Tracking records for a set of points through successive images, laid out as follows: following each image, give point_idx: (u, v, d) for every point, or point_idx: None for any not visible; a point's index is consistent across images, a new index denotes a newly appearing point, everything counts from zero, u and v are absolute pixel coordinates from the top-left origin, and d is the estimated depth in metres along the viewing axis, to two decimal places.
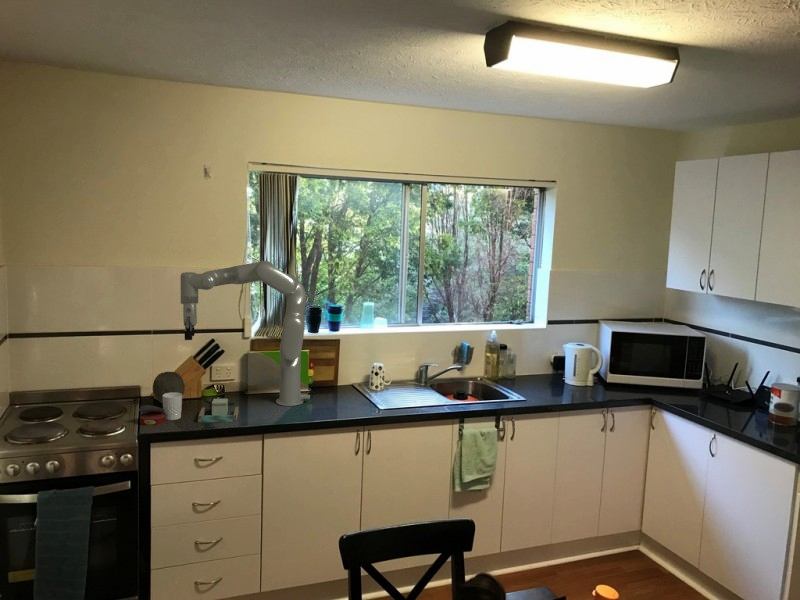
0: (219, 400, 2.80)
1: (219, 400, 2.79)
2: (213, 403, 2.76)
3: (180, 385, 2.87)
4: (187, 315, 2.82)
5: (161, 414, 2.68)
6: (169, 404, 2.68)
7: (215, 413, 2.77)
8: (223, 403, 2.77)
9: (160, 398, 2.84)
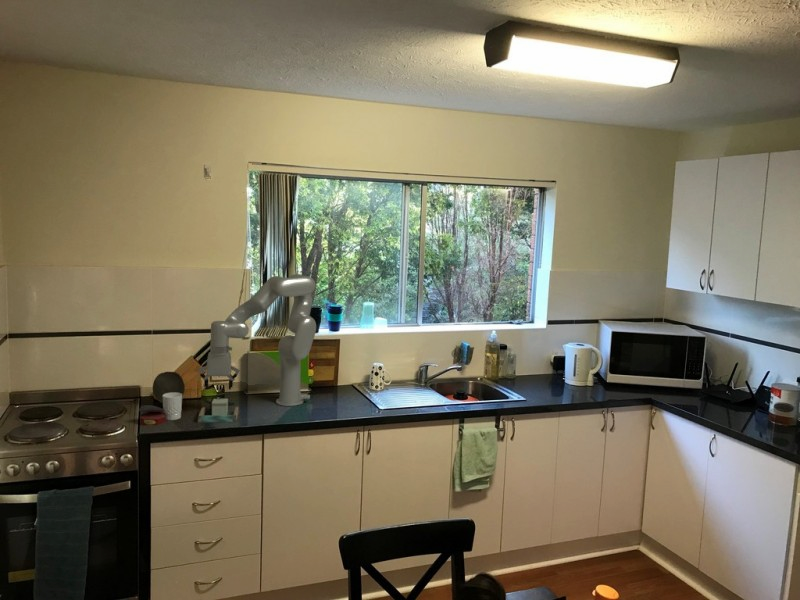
0: (219, 400, 2.80)
1: (219, 400, 2.79)
2: (213, 403, 2.76)
3: (180, 385, 2.87)
4: (230, 364, 2.77)
5: (161, 414, 2.68)
6: (169, 404, 2.68)
7: (215, 413, 2.77)
8: (223, 403, 2.77)
9: (160, 398, 2.84)
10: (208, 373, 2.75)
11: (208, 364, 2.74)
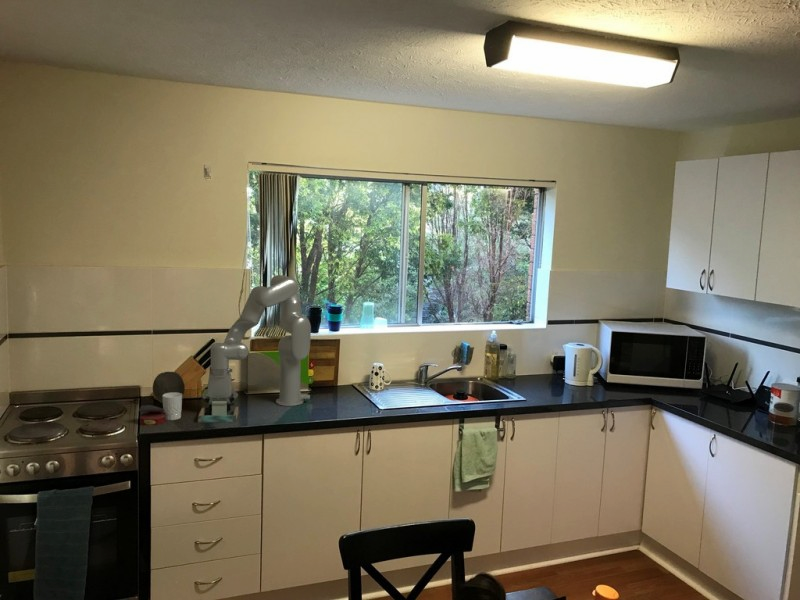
0: (219, 400, 2.80)
1: (219, 400, 2.79)
2: (213, 403, 2.76)
3: (180, 385, 2.87)
4: (231, 385, 2.79)
5: (161, 414, 2.68)
6: (169, 404, 2.68)
7: (215, 413, 2.77)
8: (223, 403, 2.77)
9: (160, 398, 2.84)
10: (209, 395, 2.76)
11: (208, 386, 2.76)
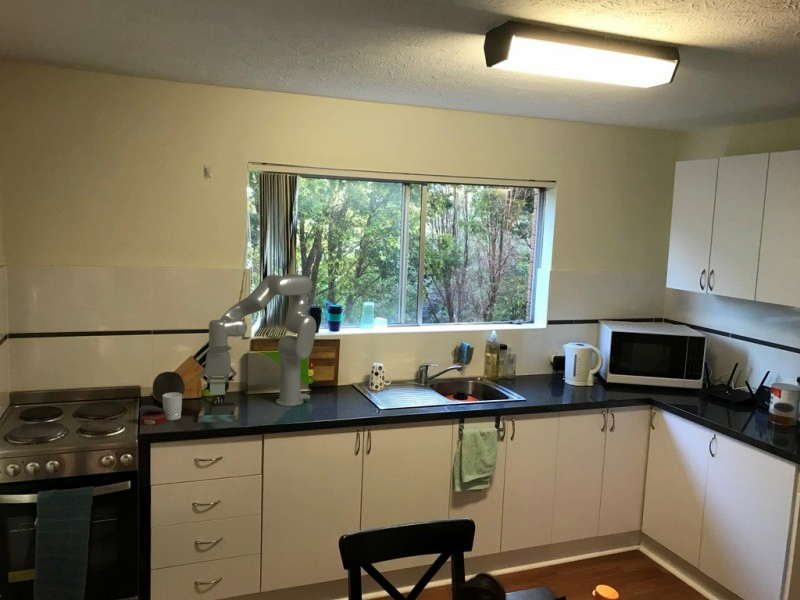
0: (217, 378, 2.72)
1: (217, 378, 2.72)
2: (211, 381, 2.68)
3: (180, 385, 2.87)
4: (230, 363, 2.71)
5: (161, 414, 2.68)
6: (169, 404, 2.68)
7: (213, 391, 2.69)
8: (221, 381, 2.69)
9: (160, 398, 2.84)
10: (207, 373, 2.68)
11: (206, 364, 2.68)
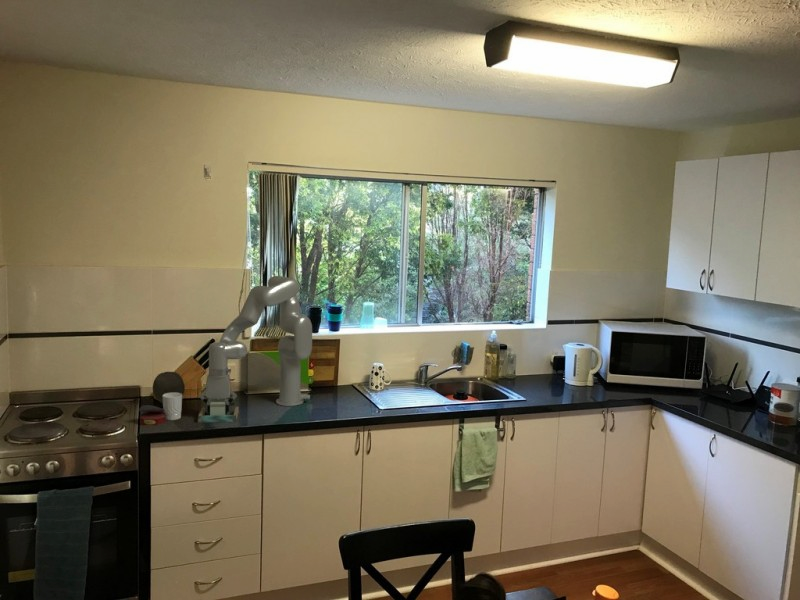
0: (217, 401, 2.73)
1: (217, 401, 2.73)
2: (211, 404, 2.69)
3: (180, 385, 2.87)
4: (230, 386, 2.72)
5: (161, 414, 2.68)
6: (169, 404, 2.68)
7: (213, 414, 2.70)
8: (221, 404, 2.70)
9: (160, 398, 2.84)
10: (207, 396, 2.70)
11: (207, 387, 2.69)
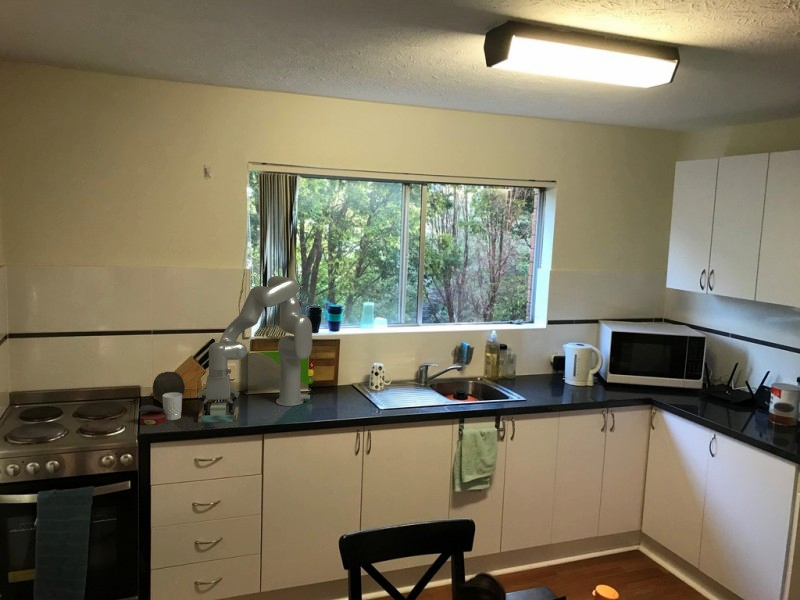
0: (217, 404, 2.73)
1: (218, 404, 2.73)
2: (211, 407, 2.70)
3: (180, 385, 2.87)
4: (230, 386, 2.72)
5: (161, 414, 2.68)
6: (169, 404, 2.68)
7: None
8: (222, 407, 2.70)
9: (160, 398, 2.84)
10: (207, 397, 2.70)
11: (207, 387, 2.69)
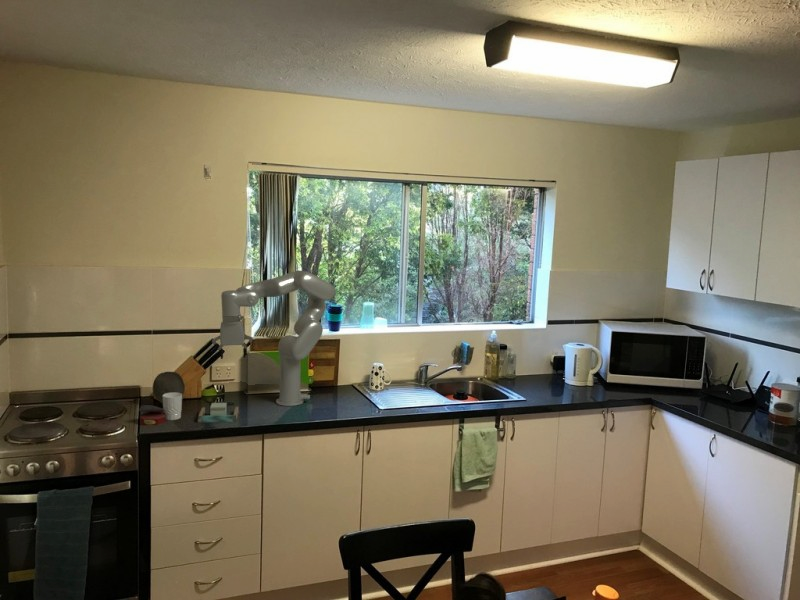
0: (217, 404, 2.73)
1: (218, 404, 2.73)
2: (211, 407, 2.70)
3: (180, 385, 2.87)
4: (243, 332, 2.80)
5: (161, 414, 2.68)
6: (169, 404, 2.68)
7: None
8: (222, 407, 2.70)
9: (160, 398, 2.84)
10: (222, 343, 2.77)
11: (221, 334, 2.76)
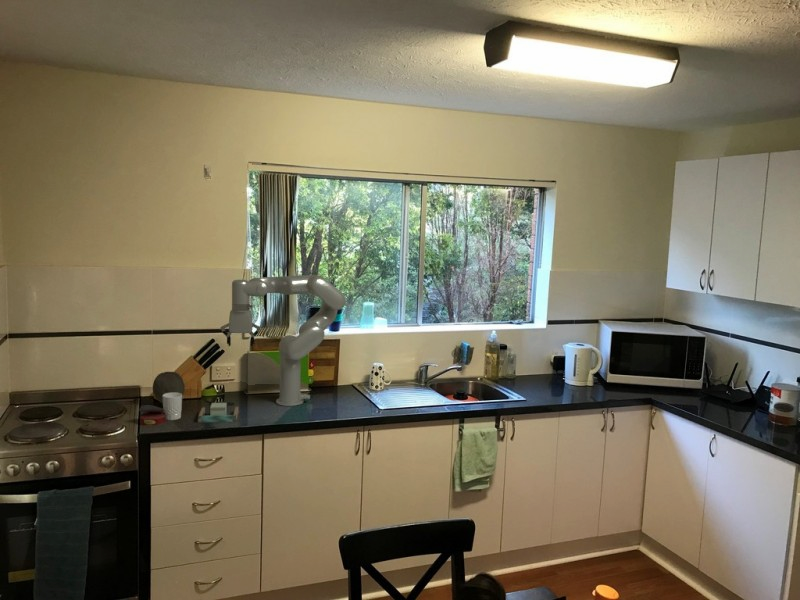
0: (217, 404, 2.73)
1: (218, 404, 2.73)
2: (211, 407, 2.70)
3: (180, 385, 2.87)
4: None
5: (161, 414, 2.68)
6: (169, 404, 2.68)
7: None
8: (222, 407, 2.70)
9: (160, 398, 2.84)
10: (230, 330, 2.84)
11: (230, 321, 2.83)
